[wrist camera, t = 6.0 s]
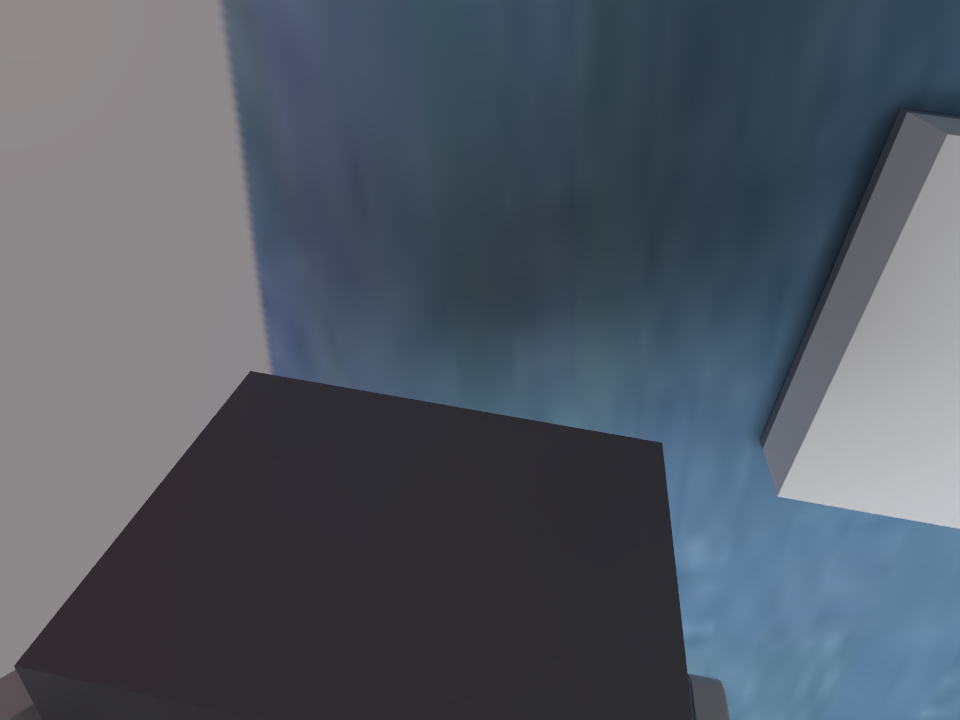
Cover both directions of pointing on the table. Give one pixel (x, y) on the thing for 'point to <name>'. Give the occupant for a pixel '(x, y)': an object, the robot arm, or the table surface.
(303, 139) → the table surface
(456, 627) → the plug
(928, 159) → the socket
